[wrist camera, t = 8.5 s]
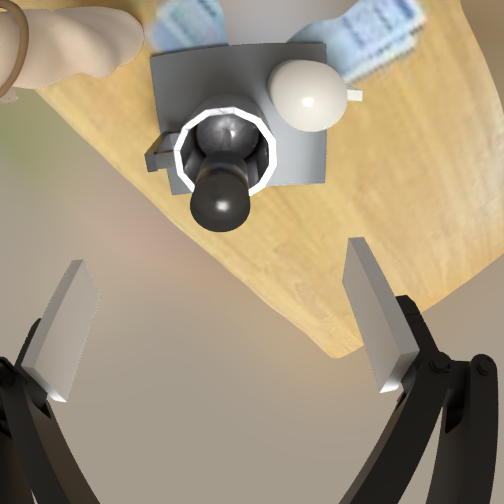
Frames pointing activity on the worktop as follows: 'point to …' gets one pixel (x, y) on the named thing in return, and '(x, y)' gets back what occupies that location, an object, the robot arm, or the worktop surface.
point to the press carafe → (191, 155)
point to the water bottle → (63, 45)
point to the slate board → (248, 84)
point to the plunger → (223, 172)
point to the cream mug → (309, 94)
